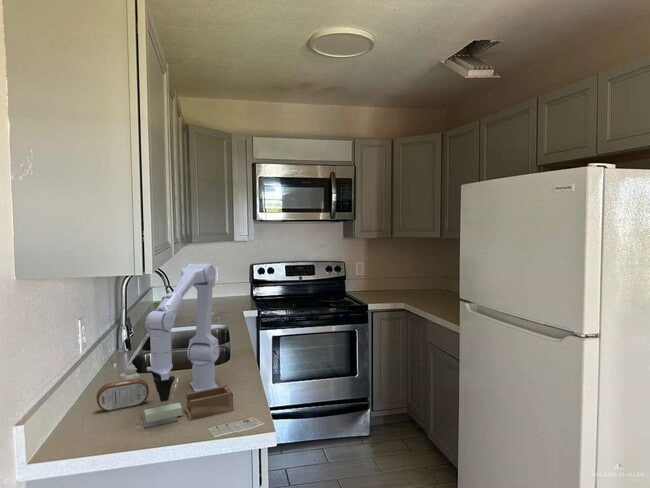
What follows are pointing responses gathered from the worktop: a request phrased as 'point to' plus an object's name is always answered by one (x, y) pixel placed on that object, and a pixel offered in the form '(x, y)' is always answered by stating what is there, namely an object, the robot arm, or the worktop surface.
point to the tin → (122, 394)
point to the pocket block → (209, 402)
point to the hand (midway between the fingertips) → (162, 396)
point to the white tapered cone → (130, 373)
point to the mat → (158, 422)
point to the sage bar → (163, 412)
